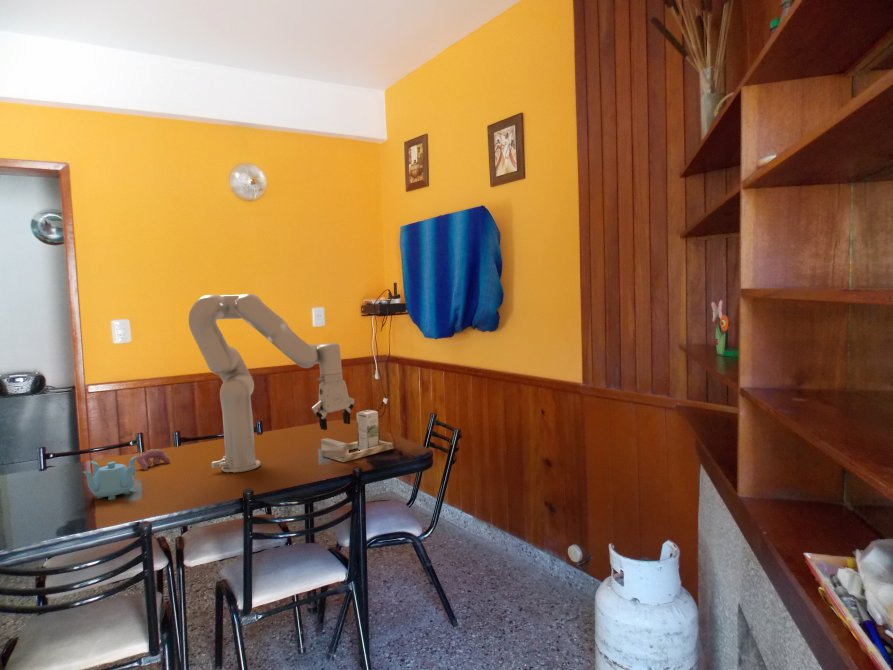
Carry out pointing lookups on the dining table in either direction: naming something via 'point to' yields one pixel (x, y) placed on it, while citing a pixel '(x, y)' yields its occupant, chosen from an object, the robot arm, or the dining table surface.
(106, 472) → the teapot
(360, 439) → the syrup box
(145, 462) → the pink animal figurine
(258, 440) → the dining table surface
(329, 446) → the frame
